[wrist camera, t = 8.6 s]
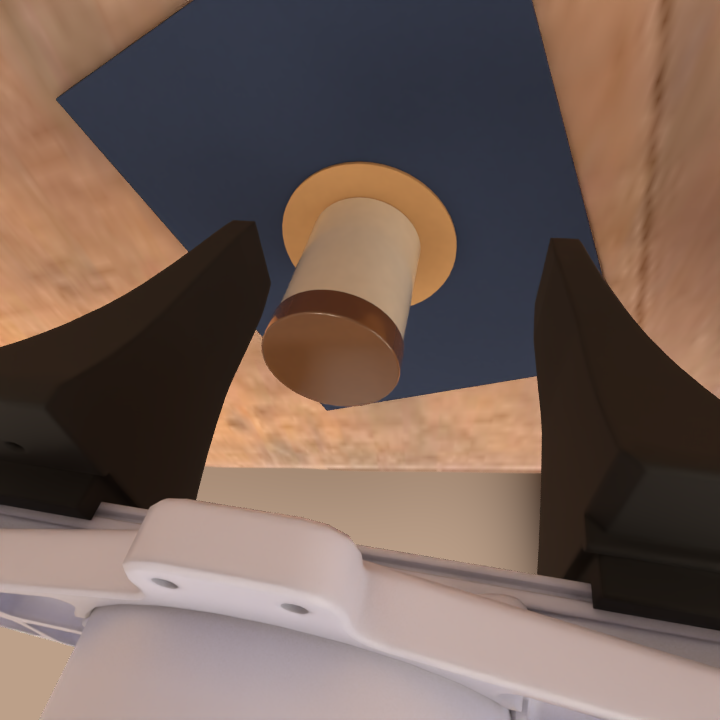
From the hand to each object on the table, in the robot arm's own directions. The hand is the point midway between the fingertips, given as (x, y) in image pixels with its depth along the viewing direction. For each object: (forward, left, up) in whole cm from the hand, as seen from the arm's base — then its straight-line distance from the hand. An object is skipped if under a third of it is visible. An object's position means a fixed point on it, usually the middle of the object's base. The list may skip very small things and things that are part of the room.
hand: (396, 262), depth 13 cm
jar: (-4, +5, -9) cm, 11 cm away
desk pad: (-4, +5, -9) cm, 12 cm away
